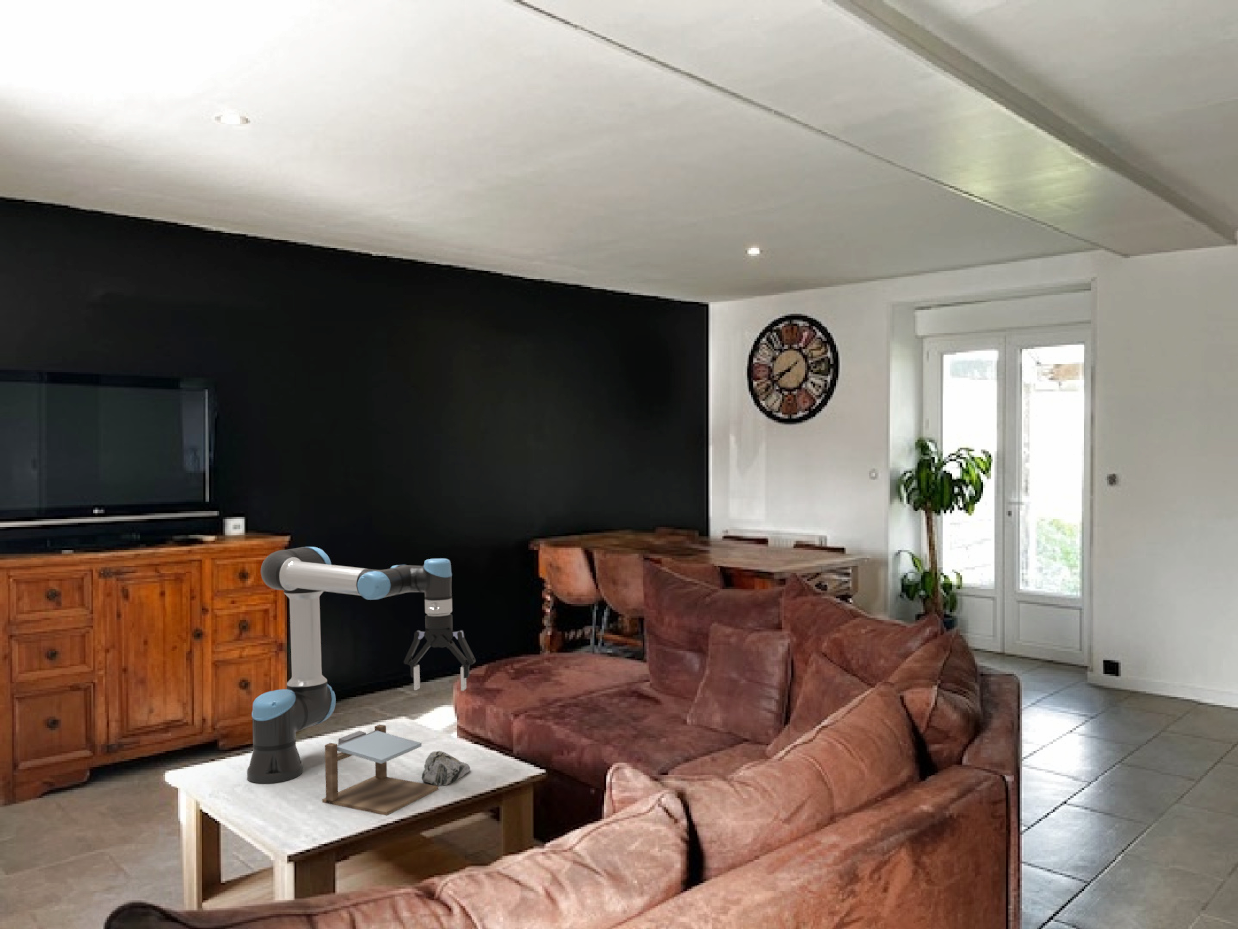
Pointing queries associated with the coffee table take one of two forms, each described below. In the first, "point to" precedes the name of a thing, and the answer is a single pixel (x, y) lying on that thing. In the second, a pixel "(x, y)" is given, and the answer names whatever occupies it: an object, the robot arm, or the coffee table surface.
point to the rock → (443, 769)
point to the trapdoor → (376, 745)
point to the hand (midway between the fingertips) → (440, 689)
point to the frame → (371, 787)
